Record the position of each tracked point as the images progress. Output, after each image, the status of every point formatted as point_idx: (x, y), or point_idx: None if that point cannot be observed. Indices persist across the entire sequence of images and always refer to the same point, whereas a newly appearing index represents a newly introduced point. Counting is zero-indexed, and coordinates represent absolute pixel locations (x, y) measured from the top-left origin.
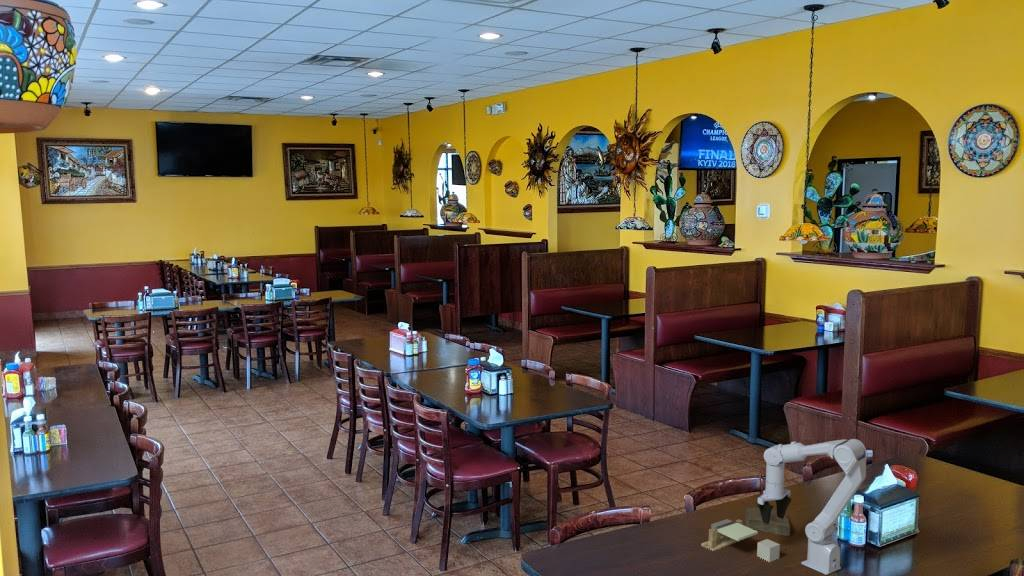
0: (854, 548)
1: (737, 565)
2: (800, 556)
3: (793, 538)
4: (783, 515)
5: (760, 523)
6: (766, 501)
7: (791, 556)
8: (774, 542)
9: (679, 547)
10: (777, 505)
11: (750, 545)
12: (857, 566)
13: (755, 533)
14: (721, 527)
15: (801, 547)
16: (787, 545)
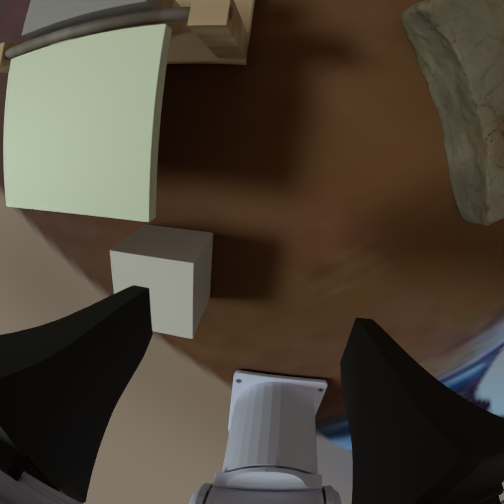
0: (463, 396)
1: (41, 218)
2: (299, 343)
3: (453, 239)
4: (344, 392)
5: (452, 68)
6: (16, 486)
7: (271, 321)
8: (188, 312)
9: (17, 12)
10: (394, 398)
11: (224, 128)
12: (350, 445)
13: (128, 216)
14: (41, 42)
15: (388, 307)
16: (369, 258)
